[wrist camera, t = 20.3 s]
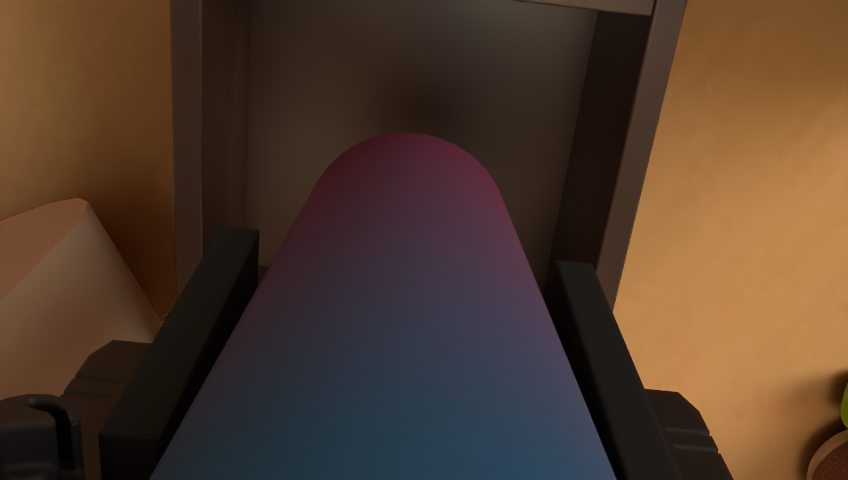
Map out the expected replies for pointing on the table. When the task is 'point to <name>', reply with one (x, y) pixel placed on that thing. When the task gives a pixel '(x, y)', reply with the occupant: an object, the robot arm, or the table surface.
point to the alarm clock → (62, 297)
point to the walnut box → (420, 110)
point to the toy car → (832, 453)
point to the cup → (393, 341)
